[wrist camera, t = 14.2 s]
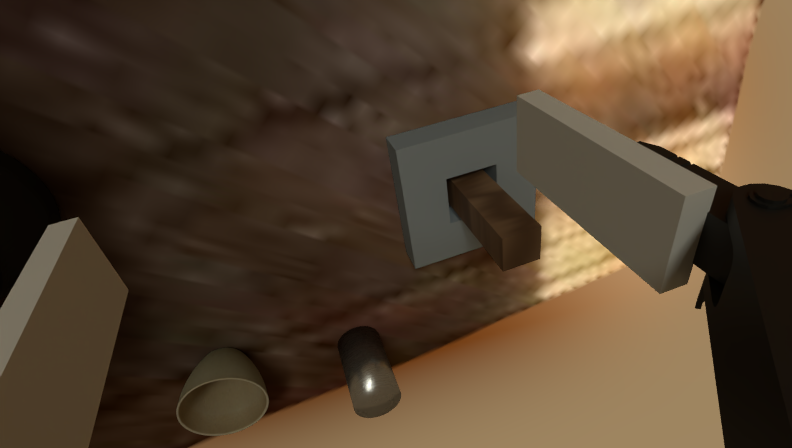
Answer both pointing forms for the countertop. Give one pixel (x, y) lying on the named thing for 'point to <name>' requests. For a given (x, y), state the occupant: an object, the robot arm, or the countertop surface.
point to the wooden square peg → (495, 219)
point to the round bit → (368, 372)
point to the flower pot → (222, 394)
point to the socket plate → (445, 158)
